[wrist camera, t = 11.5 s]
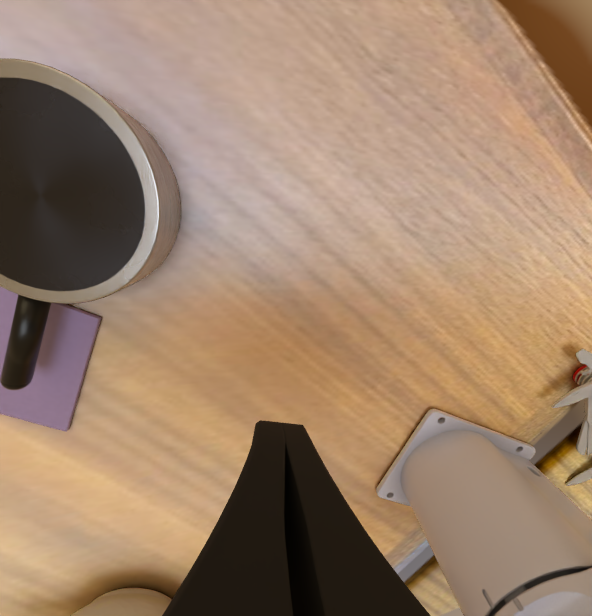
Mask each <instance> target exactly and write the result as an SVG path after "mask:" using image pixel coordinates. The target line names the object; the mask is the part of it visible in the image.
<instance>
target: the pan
mask: <svg viewBox="0 0 592 616" xmlns="http://www.w3.org/2000/svg"><path fill="white" fill-rule="evenodd" d="M180 217H181V203H180V196H179V190H178V186H177V182H176V178H175V176H174V173H173V171H172V168H171V166H170V164H169V162H168V160H167V158H166V156H165V154H164V153H163V151H162V150H161V148H160V147H159V145H158V144H157V142H156V141H155V140H154V139H153V137H152V136H151V135H150V134H149V133H148V132H147V130H146V129H145V128H144V127H142V126H141V125H140V124H139V123H138V122H137V121H136V120H135V119H134V118H132V117H131V116H130V115H128V114H127V113H126V112H124V111H123V110H121V109H120V108H119V107H117V106H116V105H114V104H113V103H111V102H110V101H109V100H107V99H106V98H104V97H103V96H102V95H100V94H99V93H97V92H96V91H94V90H93V89H92V88H90V87H89V86H87V85H86V84H84V83H82V82H81V81H79V80H77V79H76V78H74V77H72V76H70V75H69V74H66V73H64V72H62V71H59V70H57V69H55V68H53V67H50V66H46V65H43V64H39V63H36V62H32V61H26V60H19V59H0V287H2V288H4V289H6V290H9V291H11V292H13V293H16V294H18V298H17V303H16V308H15V312H14V317H13V322H12V326H11V331H10V336H9V340H8V345H7V350H6V354H5V359H4V364H3V368H2V373H1V378H0V382H1V385H2V386H3V387H4V388H6V389H8V390H20V389H23V388H25V387H26V386H28V385H29V384H30V383H31V381H32V379H33V375H34V371H35V367H36V363H37V359H38V355H39V351H40V347H41V343H42V339H43V335H44V331H45V327H46V323H47V319H48V314H49V310H50V306H51V303H62V304H71V303H83V302H89V301H94V300H97V299H100V298H104V297H106V296H108V295H111V294H113V293H115V292H117V291H119V290H121V289H123V288H125V287H127V286H129V285H131V284H133V283H135V282H137V281H139V280H141V279H143V278H144V277H146V276H147V275H149V274H150V273H152V272H153V271H154V270H155V269H156V268H158V267H159V266H160V265H161V263H162V262H163V261H164V260H165V259H166V257H167V256H168V254H169V252H170V251H171V249H172V247H173V245H174V243H175V240H176V238H177V234H178V230H179V225H180Z"/></svg>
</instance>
